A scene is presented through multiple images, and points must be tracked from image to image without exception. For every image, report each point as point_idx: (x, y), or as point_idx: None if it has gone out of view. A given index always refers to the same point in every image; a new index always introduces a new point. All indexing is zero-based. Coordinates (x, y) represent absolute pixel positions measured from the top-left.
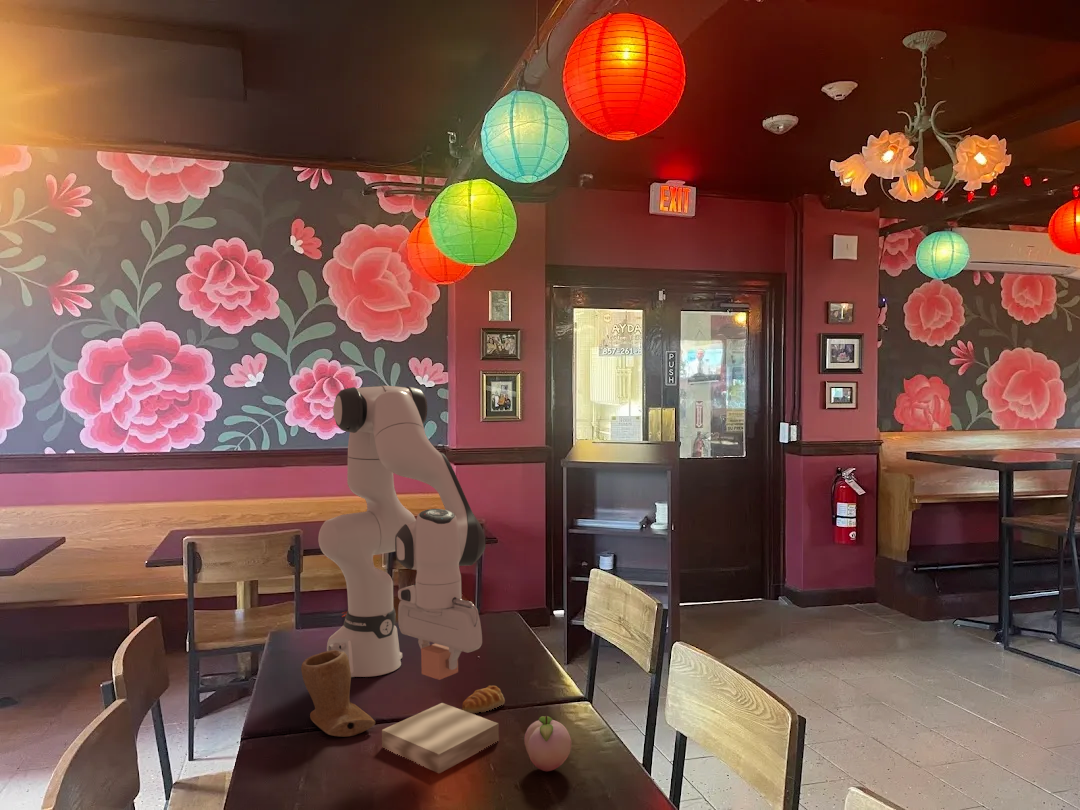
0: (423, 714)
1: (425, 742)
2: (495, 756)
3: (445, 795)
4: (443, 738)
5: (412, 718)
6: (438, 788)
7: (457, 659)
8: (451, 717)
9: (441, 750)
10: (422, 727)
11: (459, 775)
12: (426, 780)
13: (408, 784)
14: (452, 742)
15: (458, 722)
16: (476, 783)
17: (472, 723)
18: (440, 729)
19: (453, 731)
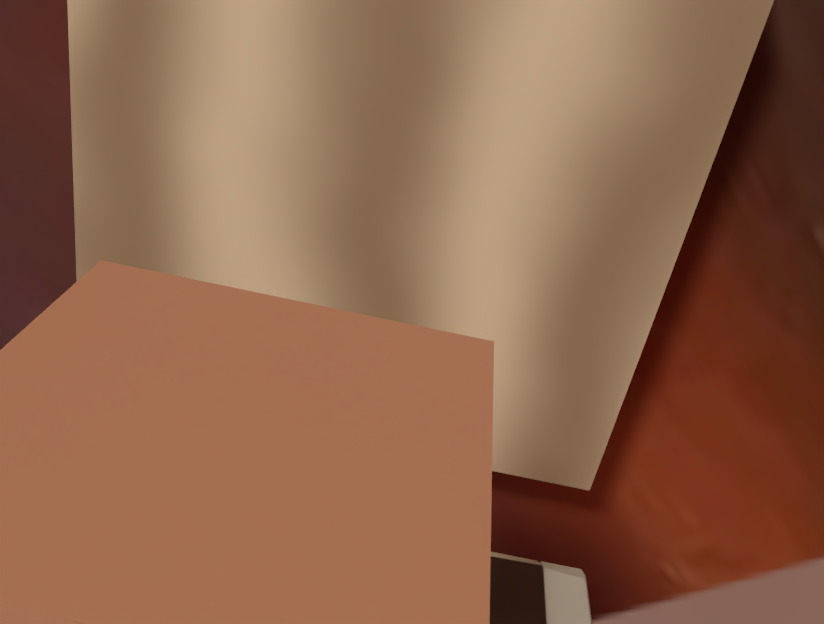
0: (116, 78)
1: None
2: (816, 138)
3: (710, 550)
4: (502, 332)
5: (103, 174)
6: (648, 520)
7: (490, 487)
8: (348, 19)
9: (578, 452)
10: (270, 260)
11: (691, 400)
12: (555, 489)
13: (497, 538)
14: (590, 354)
15: (456, 74)
16: (816, 429)
17: (575, 34)
18: (402, 235)
19: (507, 221)
